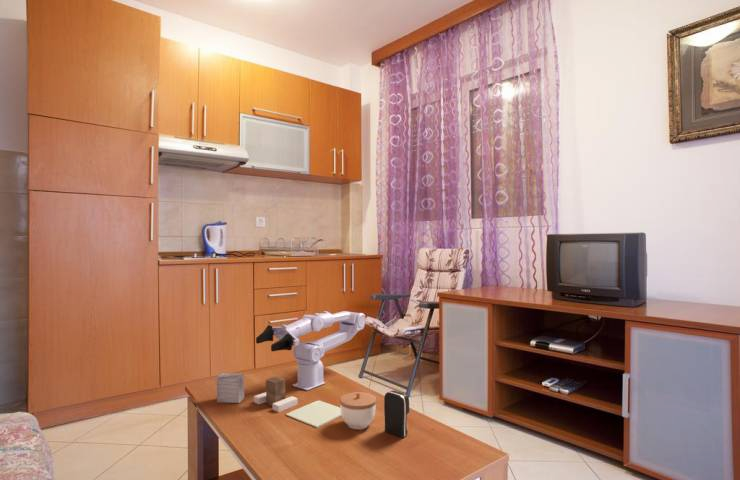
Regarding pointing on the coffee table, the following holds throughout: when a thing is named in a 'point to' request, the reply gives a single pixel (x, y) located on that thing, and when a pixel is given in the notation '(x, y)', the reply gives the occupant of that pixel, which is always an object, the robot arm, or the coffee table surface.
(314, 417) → the mat
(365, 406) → the lidded jar
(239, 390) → the medicine box
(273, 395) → the walnut block
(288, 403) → the slot blocks
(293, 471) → the coffee table surface
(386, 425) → the battery charger
